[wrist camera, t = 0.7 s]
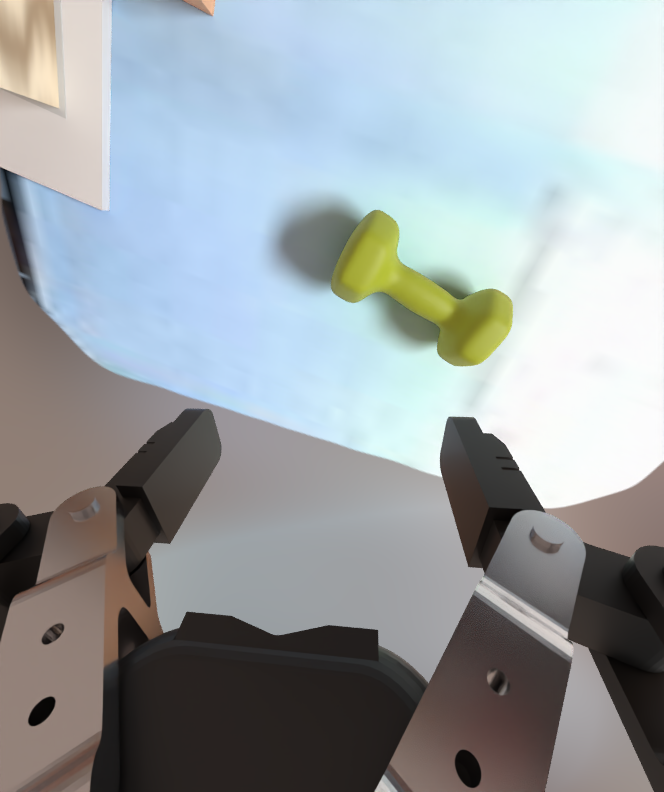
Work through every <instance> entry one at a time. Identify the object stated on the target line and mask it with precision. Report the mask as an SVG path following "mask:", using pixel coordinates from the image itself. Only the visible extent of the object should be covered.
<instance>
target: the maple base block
mask: <svg viewBox="0 0 664 792" xmlns="http://www.w3.org/2000/svg"><path fill="white" fill-rule="evenodd" d="M0 88H3V89H6V90H9V91H12V92H14V93H17V94H20V95H23V96H26V97H28V98H31V99H34V100H37V101H40V102H42V103H45V104H48V105H51V106H54V107H56V108H59V92H58V74H57V55H56V37H55V18H54V0H0Z"/></svg>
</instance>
